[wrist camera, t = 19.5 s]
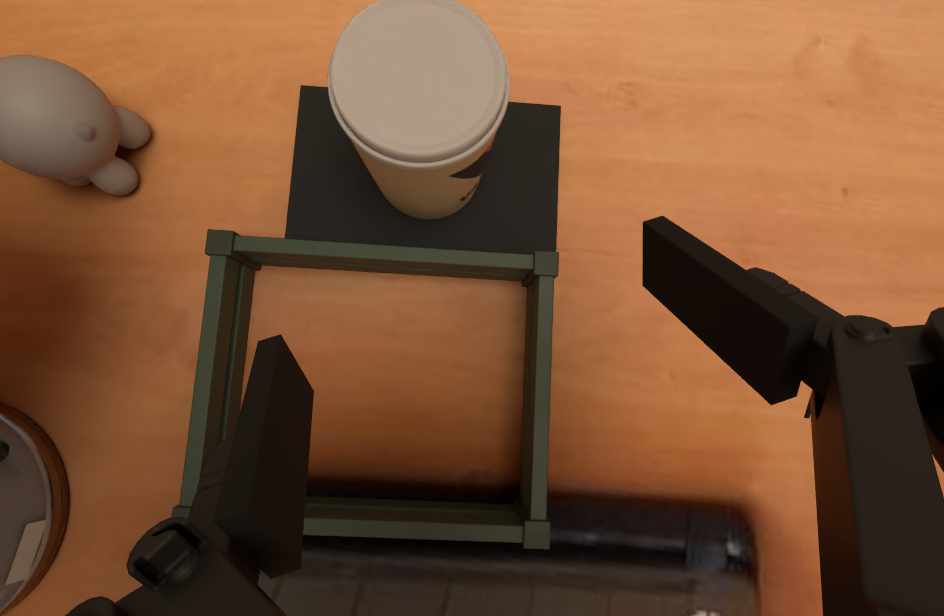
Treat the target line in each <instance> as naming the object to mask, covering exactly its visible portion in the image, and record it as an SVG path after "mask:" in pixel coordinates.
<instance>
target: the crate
mask: <svg viewBox="0 0 944 616" xmlns="http://www.w3.org/2000/svg"><path fill="white" fill-rule="evenodd" d="M205 254H207V255H209V256H210V264H209V272H208V280H207V288H206V296H205V304H204V312H203V320H202V328H201V336H200V344H199V352H198V360H197V368H196V376H195V385H194V393H193V401H192V409H191V417H190V425H189V433H188V441H187V449H186V457H185V465H184V473H183V481H182V489H181V497H180V504H179V505H177V506H175V507H174V508H173V512H172V517H181V516H182V517H184V518H186V519H188V516H189V513H190V509H191V506H192V503H193V499H194V496H195V493H196V492H197V486H198V483H199V480H200V479H201V473H202V470H203V466H204V463H205V460H206V458H207V457H208V455H209V454H210V452H211V451H212V449H213V448H214V447H215V445H216V444H217V442H220V441H223V440H227V439H230V438H233V437H234V435H235V431H236V427H237V423H238V418H239V409H240V400H241V391H242V382H243V373H244V364H245V355H246V346H247V337H248V328H249V319H250V310H251V301H252V293H253V284H254V275H255V270H261V265H268V266H284V267H300V268H316V269H332V270H348V271H364V272H381V273H397V274H413V275H429V276H445V277H461V278H477V279H493V280H510V281H522V286H523V287H528V288H527V314H526V339H525V365H524V390H523V416H522V441H521V467H520V492H519V499H517V498H514V501H513V504H495V503H470V502H445V501H421V500H396V499H371V498H346V497H321V496H306V502H305V515H304V528H303V535H322V536H349V537H377V538H404V539H432V540H459V541H487V542H514V543H522V545H523V548H528V549H550V521H549V519H548V518H547V516H546V510H547V479H548V448H549V417H550V386H551V355H552V324H553V293H554V279H555V278H556V277H557V276H558V265H559V252H549V251H534V253H533V254H532V255H530V254H515V253H499V252H484V251H468V250H453V249H437V248H422V247H406V246H391V245H376V244H360V243H345V242H329V241H314V240H298V239H283V238H267V237H252V236H240V235H239V234H237V233H235V232H234V231H226V230H211V229H209V230H208V232H207V240H206V248H205Z"/></svg>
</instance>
